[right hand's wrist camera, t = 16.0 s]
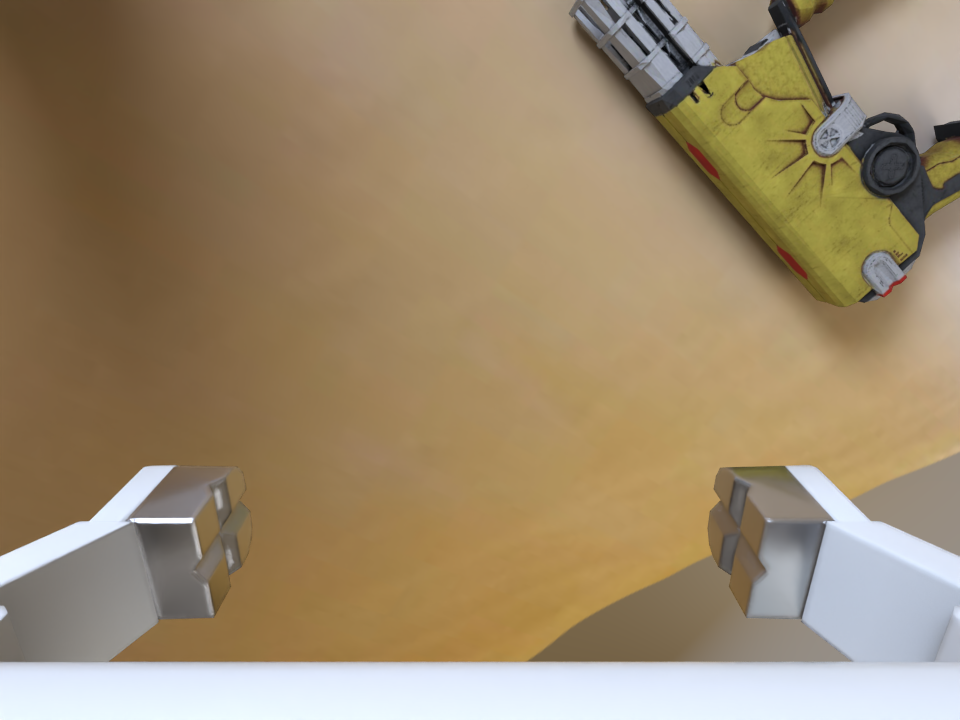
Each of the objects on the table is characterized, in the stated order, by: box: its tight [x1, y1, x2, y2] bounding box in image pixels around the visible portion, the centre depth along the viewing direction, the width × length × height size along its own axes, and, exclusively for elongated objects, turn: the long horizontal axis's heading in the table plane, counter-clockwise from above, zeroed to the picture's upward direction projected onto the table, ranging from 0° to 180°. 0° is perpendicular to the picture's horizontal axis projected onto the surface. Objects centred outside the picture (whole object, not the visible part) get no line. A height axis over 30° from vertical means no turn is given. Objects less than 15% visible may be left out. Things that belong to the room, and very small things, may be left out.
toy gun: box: [569, 0, 960, 307], centre depth 32 cm, size 5×24×15 cm
